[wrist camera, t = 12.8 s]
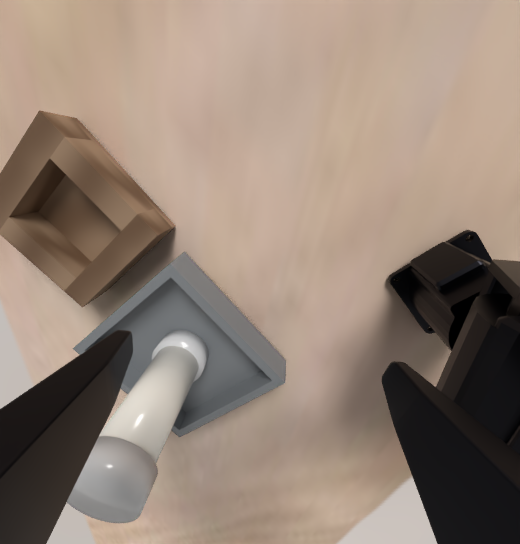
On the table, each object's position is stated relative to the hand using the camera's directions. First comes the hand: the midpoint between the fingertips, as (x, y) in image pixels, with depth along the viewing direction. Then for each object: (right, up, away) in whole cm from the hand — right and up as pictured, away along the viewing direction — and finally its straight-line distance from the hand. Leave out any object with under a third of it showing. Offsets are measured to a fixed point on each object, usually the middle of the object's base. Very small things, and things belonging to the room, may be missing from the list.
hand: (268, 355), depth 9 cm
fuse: (-8, -5, +16) cm, 18 cm away
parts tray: (-8, -4, +17) cm, 19 cm away
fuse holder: (-14, +8, +13) cm, 20 cm away
